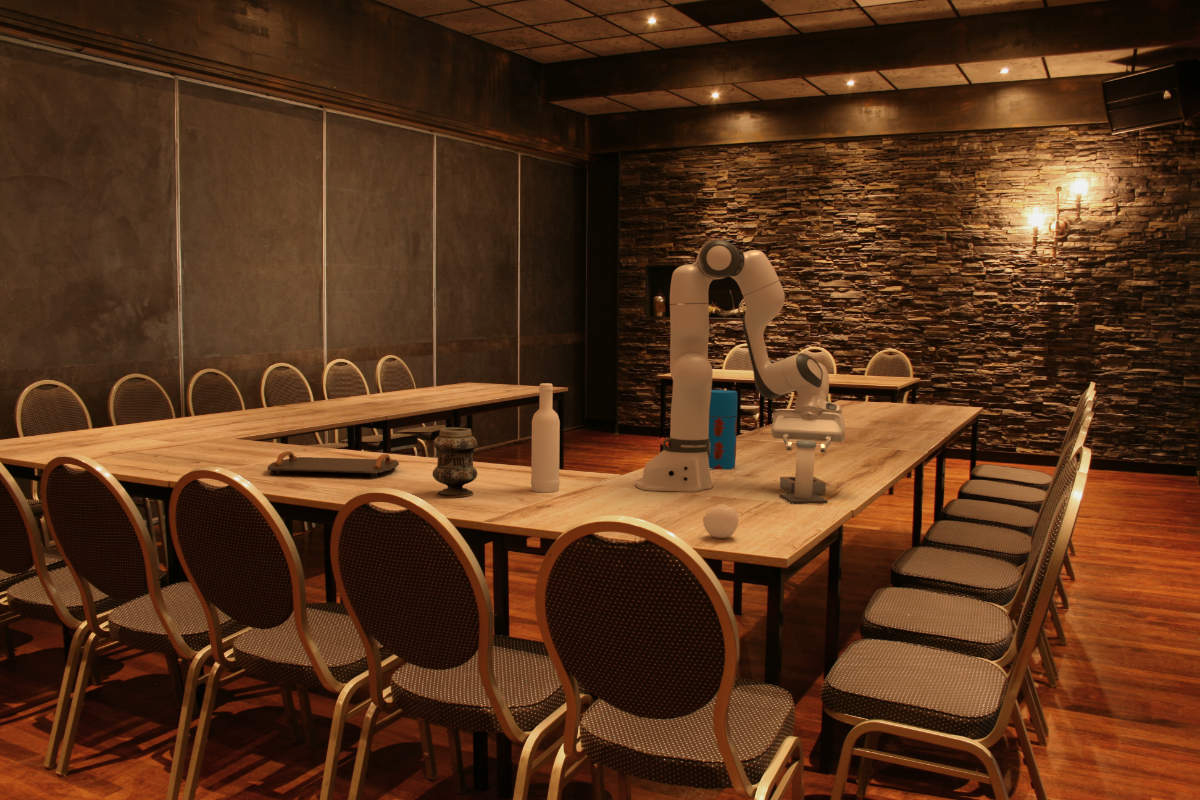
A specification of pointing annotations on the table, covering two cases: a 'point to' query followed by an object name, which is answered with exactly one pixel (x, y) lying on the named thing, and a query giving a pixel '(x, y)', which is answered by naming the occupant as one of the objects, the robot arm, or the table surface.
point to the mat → (795, 500)
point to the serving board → (332, 464)
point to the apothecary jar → (455, 461)
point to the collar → (789, 485)
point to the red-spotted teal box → (722, 429)
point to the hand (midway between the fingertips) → (805, 450)
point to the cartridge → (804, 469)
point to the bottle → (545, 444)
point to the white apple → (721, 521)
